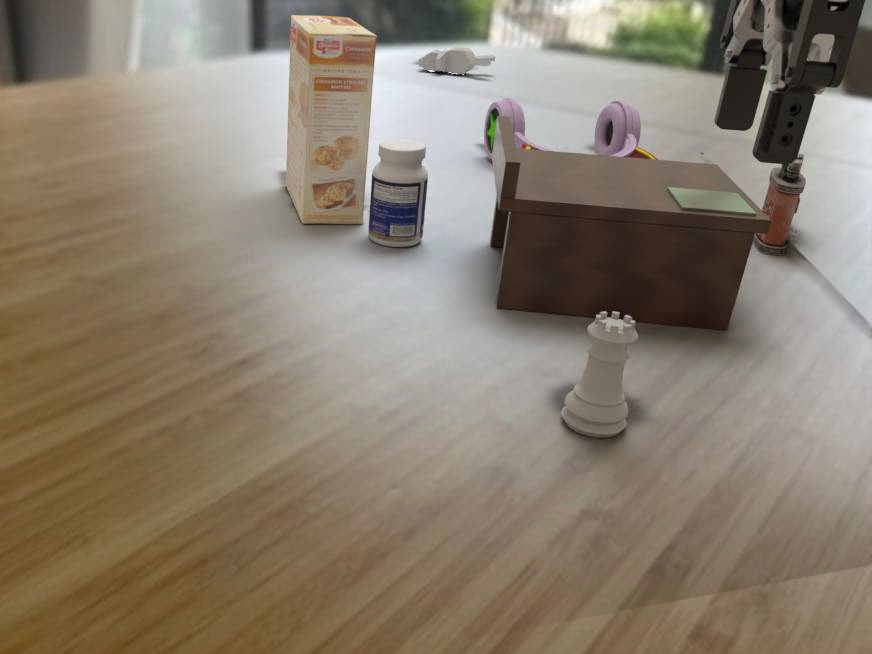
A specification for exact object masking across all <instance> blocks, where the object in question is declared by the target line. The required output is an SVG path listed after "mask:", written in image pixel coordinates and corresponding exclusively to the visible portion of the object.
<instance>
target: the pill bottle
mask: <svg viewBox="0 0 872 654" xmlns="http://www.w3.org/2000/svg"><path fill="white" fill-rule="evenodd" d="M426 150H427V146H426V144H425V143H423V142H422V141H418V140H414V139H407V138H390V139H384V140H382V141H380V142H379V144H378V156H379V158H380V161H379V162H378V163H376V165H374V167H373V169H372V172H371V185H370V186H371V187H370V200H369V215H368V231H367V232H368V233H367V234H368V238H370V240H371V241H373V243H376V244H378V245H380V246H385V247H391V248H407V247H413V246H415V245H418V244H419V243H420V242H421V241H422V239H423V236H424V227H425V214H426V203H427V191H428V183H429V173H428V170H427V169H426V166H424V165H423V161H424V159H426V153H427V151H426Z"/></svg>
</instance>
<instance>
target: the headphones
mask: <svg viewBox="0 0 872 654" xmlns="http://www.w3.org/2000/svg"><path fill="white" fill-rule="evenodd" d="M497 116H505V117H510V121H511V125H512V130H513V134H514V138H515V142H516V146H517V148H519V149H531V150H544V151H553V150H551V149H548V148H546V147H543V146H541V145H539V144H536V143H534V142H533V141H531V140H529V139H528V138H527V137H526V118H525V112H524V109H523V108H522V106H521V104H520V103H519V102H518V101H516V100H515V99H514V98H508V97H507V98H502V99H501V100H498V101H494V102H492V103H491V104H490V105H489V107H488V109H487V113H486V116H485V120H484V127H483V141H484V142H483V145H484V150H485V153H486V156H487V158H488V159H490V160H492V152H493V145H494V138H495V130H496V123H497ZM594 128H595V129H594V148H595V151H596V155H605V156H618V157H630V158H642V159H655V160H659V159H658V158H657V157H656V156H655V155H653V154H652V153H651V152H648V150H647V151H646V150H645V149H643V148H641V147H639V144H640V138H641V130H642V122H641V117H640V113H639V111H638V109H637V107H636V106H634V105H633V104H628V103H627V102H625V101H623V100H613V101H611V102H610V103H609V104H607V105H606V106H604V107H603V109H601V112H600V113H599V115H598V116H597V119H596V123H595V127H594Z"/></svg>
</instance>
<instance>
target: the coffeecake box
mask: <svg viewBox="0 0 872 654" xmlns="http://www.w3.org/2000/svg"><path fill="white" fill-rule="evenodd" d="M289 37H290V39H289V66H288V67H289V68H288V70H289V71H288V72H289V73H288V99H287V100H288V101H287V102H288V104H287V133H286V135H287V137H286V163H285V187H286V189H287V191H288V193H289V196H290V199H291V201H292V203H293V205H294V207H295V210H296V212H297V215H298V217H299V219H300V221H301V224H304V225H308V224H309V225H311V224H319V225H320V224H324V225H328V224H331V225H332V224H333V225H364V212H365V211H364V210H365V209H364V208H365V194H366V180H367V168H368V167H367V166H368V155H369V154H368V153H369V142H370V141H369V140H370V126H371V113H372V101H373V89H374V88H373V86H374V72H375V61H376V49H377V48H376V47H377V40H378V39H377V38H378V36H377V35H376V34H375V33H373V31H370V30H369V29H367V28H365V27H364V26H362V25H361V24H359V23H358V22H356V21H354V20H353V19H352V18H350V17H347V16H346V17H345V16H335V15H303V14H302V15H298V14H291V15H290V35H289Z"/></svg>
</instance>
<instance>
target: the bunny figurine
mask: <svg viewBox="0 0 872 654" xmlns="http://www.w3.org/2000/svg"><path fill="white" fill-rule="evenodd" d="M492 62H496V56H495V55H494V54H487V55H479V56H476V55H475V54H474V51H472V50H471V49H470V48H469V47H464V46H462V47H461V46H459V47H453V48H450V49H446V50H442V51H441V50H439V49H436V50H434V49H433V50H432V51H430V52H428V53H427V54H425V55H424V56H422V57H419V58H418V68H422V69H423V70H424V71H425V70H433V71H437V72H441V71H442V73H446V72H451V73H458V74H457V75H460V74H465V73H466V72H467V73H469V72H470V71H471V70H473V69H474V67H475V66H479V67H491V64H492ZM467 73H466V74H467ZM466 74H465V75H466Z"/></svg>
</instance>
